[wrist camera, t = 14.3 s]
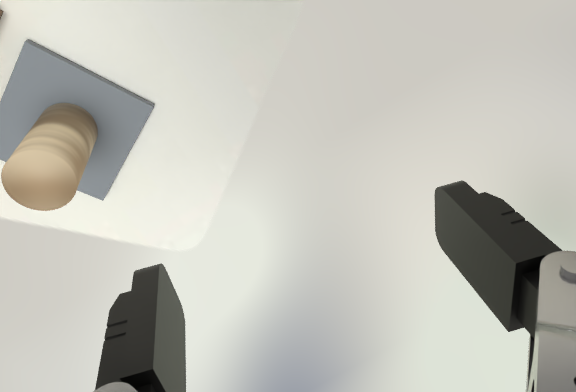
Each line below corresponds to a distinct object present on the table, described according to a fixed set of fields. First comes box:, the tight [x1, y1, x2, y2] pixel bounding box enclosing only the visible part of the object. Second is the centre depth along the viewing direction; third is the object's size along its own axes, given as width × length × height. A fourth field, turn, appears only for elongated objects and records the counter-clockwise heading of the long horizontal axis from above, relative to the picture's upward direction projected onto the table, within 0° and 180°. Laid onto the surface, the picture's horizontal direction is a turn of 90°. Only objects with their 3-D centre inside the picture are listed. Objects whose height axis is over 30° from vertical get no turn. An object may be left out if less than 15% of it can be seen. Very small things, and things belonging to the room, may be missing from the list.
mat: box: [0, 39, 154, 200], centre depth 37 cm, size 10×10×1 cm
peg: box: [1, 103, 98, 211], centre depth 33 cm, size 4×4×9 cm
